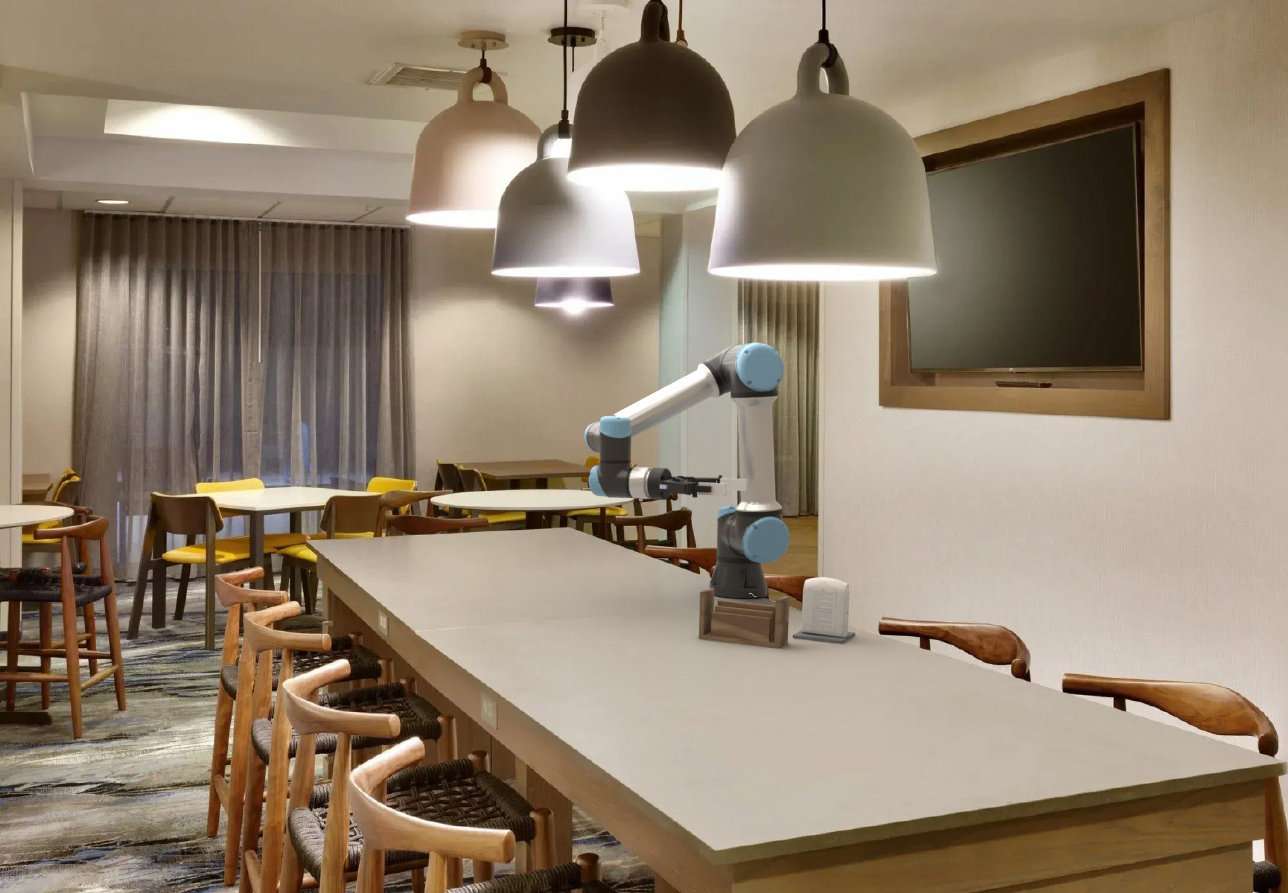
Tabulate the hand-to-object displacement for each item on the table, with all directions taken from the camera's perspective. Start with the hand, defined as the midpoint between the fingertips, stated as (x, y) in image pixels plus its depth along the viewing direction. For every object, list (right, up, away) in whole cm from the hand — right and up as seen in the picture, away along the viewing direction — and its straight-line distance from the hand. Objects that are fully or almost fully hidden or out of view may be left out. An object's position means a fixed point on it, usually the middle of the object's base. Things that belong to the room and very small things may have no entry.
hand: (736, 487), depth 275 cm
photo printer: (+18, -32, -14) cm, 39 cm away
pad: (+18, -32, -14) cm, 39 cm away
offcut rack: (0, -32, -20) cm, 38 cm away
